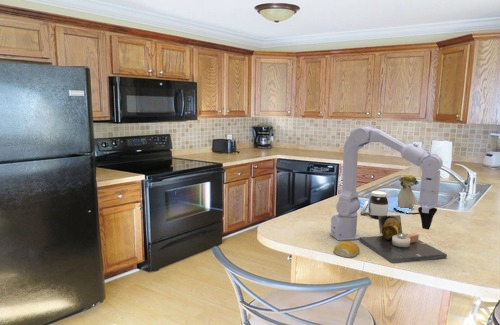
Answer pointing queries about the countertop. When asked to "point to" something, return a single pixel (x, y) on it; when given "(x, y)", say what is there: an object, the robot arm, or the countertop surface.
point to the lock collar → (404, 240)
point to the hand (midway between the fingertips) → (425, 228)
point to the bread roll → (346, 249)
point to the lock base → (402, 249)
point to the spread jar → (377, 204)
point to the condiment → (390, 226)
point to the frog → (407, 193)
